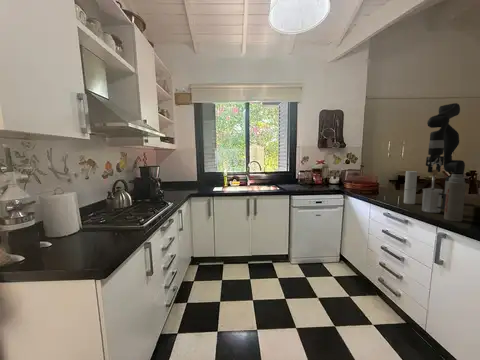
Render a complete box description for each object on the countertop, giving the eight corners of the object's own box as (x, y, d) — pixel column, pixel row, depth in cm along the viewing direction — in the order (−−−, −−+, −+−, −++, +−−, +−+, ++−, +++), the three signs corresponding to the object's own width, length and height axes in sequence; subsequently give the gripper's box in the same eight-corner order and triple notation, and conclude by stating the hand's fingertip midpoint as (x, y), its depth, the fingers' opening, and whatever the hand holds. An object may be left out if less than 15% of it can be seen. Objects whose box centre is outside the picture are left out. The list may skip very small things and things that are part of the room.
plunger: (429, 196, 156) (432, 169, 154) (438, 197, 151) (441, 169, 149) (425, 196, 154) (427, 169, 152) (433, 198, 149) (436, 170, 147)
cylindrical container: (416, 204, 175) (419, 171, 172) (406, 203, 176) (408, 171, 173) (411, 202, 181) (414, 171, 179) (401, 202, 183) (404, 171, 180)
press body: (427, 208, 160) (429, 187, 158) (448, 213, 148) (450, 190, 147) (418, 210, 156) (420, 188, 155) (439, 214, 145) (441, 191, 143)
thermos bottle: (444, 219, 134) (448, 172, 131) (443, 216, 140) (447, 171, 137) (463, 222, 129) (468, 173, 126) (461, 219, 135) (466, 172, 132)
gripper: (436, 147, 155) (434, 171, 157) (422, 147, 150) (420, 172, 152) (449, 147, 148) (447, 172, 150) (435, 147, 143) (433, 173, 145)
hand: (433, 172), depth 151 cm, fingers open, 8 cm apart
